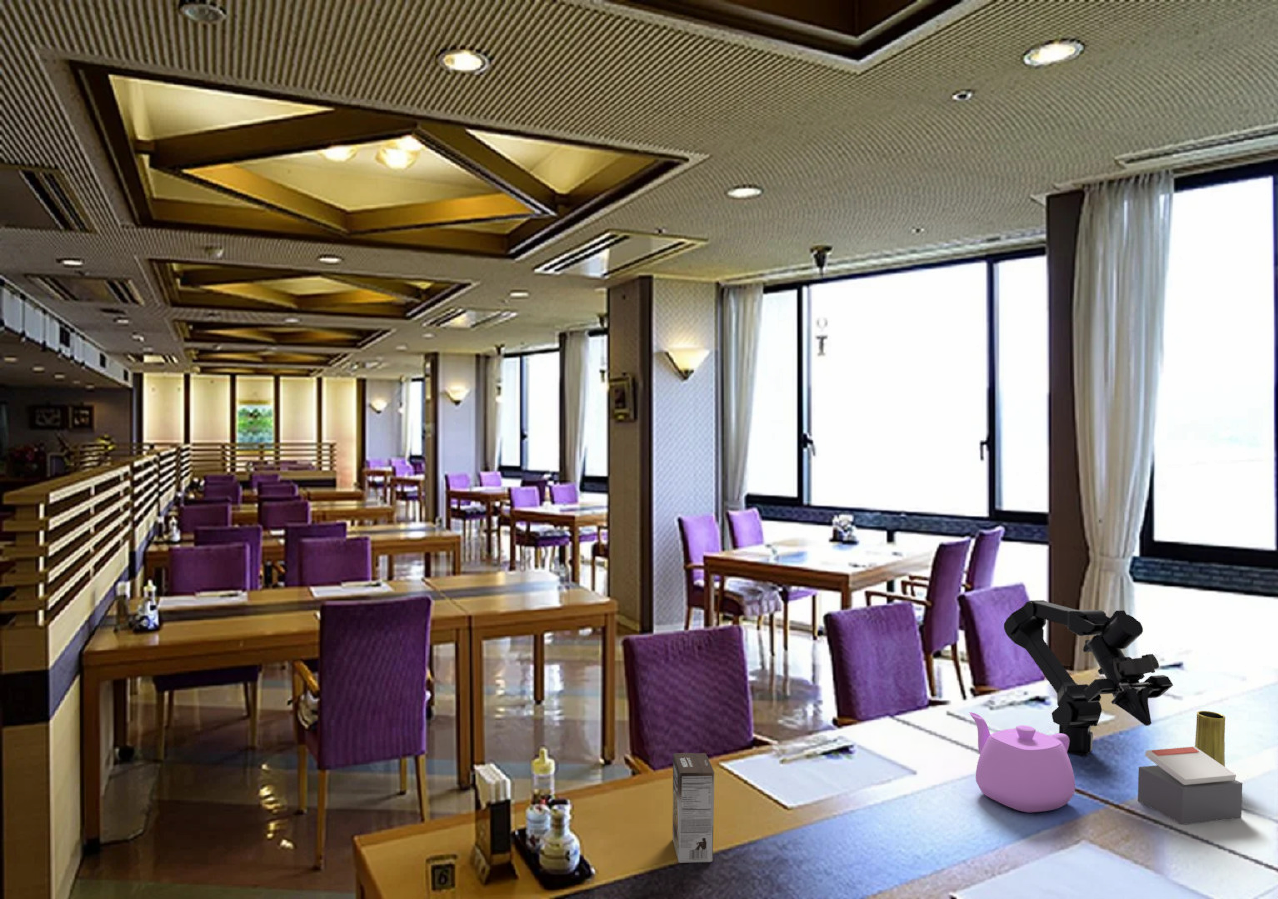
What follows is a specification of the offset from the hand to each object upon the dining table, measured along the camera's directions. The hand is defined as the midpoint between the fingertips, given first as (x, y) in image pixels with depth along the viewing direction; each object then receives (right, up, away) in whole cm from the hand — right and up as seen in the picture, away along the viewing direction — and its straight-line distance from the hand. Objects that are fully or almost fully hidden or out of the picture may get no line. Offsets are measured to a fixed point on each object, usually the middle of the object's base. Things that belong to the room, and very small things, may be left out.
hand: (1148, 724), depth 185 cm
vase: (+17, -14, +6) cm, 22 cm away
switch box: (+2, -14, -10) cm, 17 cm away
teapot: (-30, -14, -6) cm, 33 cm away
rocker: (+2, -5, -10) cm, 12 cm away
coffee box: (-99, -13, -29) cm, 104 cm away
